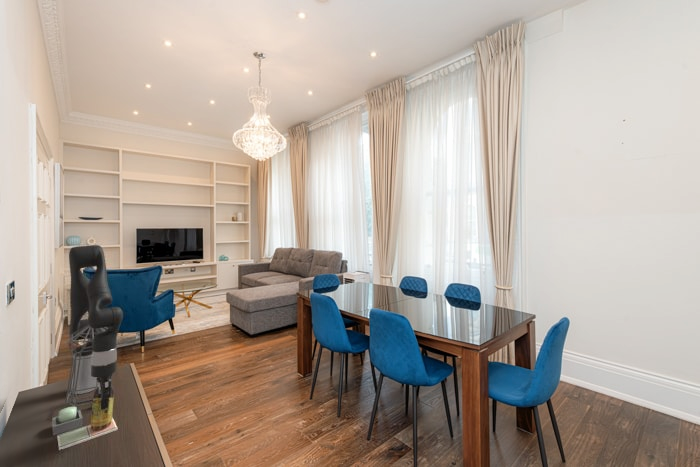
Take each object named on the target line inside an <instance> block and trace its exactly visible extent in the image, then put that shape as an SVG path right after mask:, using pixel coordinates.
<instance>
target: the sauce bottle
mask: <svg viewBox="0 0 700 467" xmlns="http://www.w3.org/2000/svg"><path fill="white" fill-rule="evenodd" d="M112 376H113V374H111V375H109V379H110V378H111V379H112ZM98 378H99V381H100V379H101V377H98ZM114 393H115V389H114V387H113V386H112V385H111V397H110V398H109V407H108V408H107V409H103V410H101V399H100V398H101V394H99V389H98V387H97V388H96V389H95V391H94V393H93V396H92V398H93V400H92V402H93V403H92V406H91V407H92V408H91V418H90V425H91V429H92V430H101V429H105V428H107V427H108V426H109V425H110V424H111V421H112V418H113V409H114V398H115V396H114V395H115V394H114ZM104 395H107V392H105V393H104Z"/></svg>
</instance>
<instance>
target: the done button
mask: <svg viewBox="0 0 700 467" xmlns="http://www.w3.org/2000/svg"><path fill="white" fill-rule="evenodd" d="M76 411H77V407H73V406H68V407H65V408H63V409H61V410H59V411H58V416H59V422H58V424H62V423H65V422H68V421H71V420H75V419H76Z"/></svg>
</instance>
